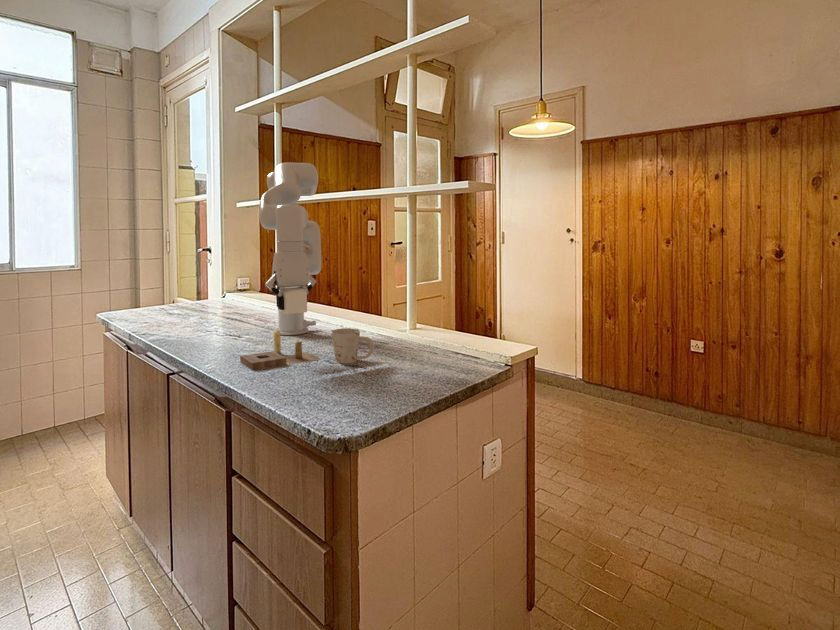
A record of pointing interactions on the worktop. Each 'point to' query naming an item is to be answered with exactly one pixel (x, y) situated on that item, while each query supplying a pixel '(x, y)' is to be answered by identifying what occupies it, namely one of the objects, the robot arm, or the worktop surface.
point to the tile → (304, 359)
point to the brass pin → (277, 342)
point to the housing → (294, 300)
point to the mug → (348, 345)
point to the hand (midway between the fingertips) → (292, 307)
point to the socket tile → (263, 360)
